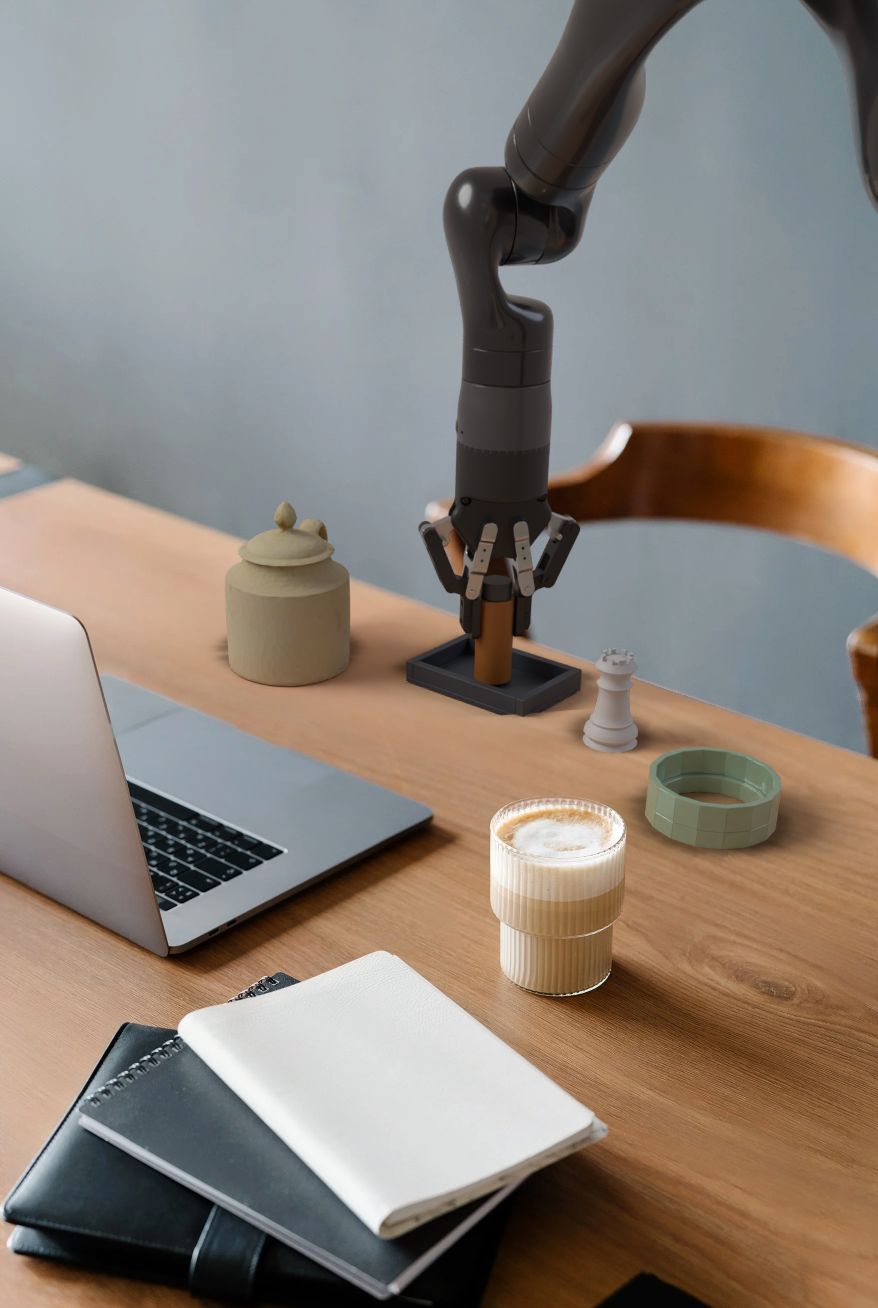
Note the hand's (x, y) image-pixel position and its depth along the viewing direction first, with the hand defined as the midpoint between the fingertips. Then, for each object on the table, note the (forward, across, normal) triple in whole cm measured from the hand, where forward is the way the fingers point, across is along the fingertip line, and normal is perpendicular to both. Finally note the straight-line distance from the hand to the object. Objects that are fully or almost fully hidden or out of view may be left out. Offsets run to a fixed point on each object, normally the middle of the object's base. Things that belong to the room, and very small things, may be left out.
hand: (494, 633), depth 119 cm
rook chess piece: (+5, +6, -13) cm, 15 cm away
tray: (+5, 0, 0) cm, 5 cm away
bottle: (+4, 0, 0) cm, 4 cm away
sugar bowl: (+5, -17, +10) cm, 20 cm away
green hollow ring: (+5, +9, -27) cm, 29 cm away
